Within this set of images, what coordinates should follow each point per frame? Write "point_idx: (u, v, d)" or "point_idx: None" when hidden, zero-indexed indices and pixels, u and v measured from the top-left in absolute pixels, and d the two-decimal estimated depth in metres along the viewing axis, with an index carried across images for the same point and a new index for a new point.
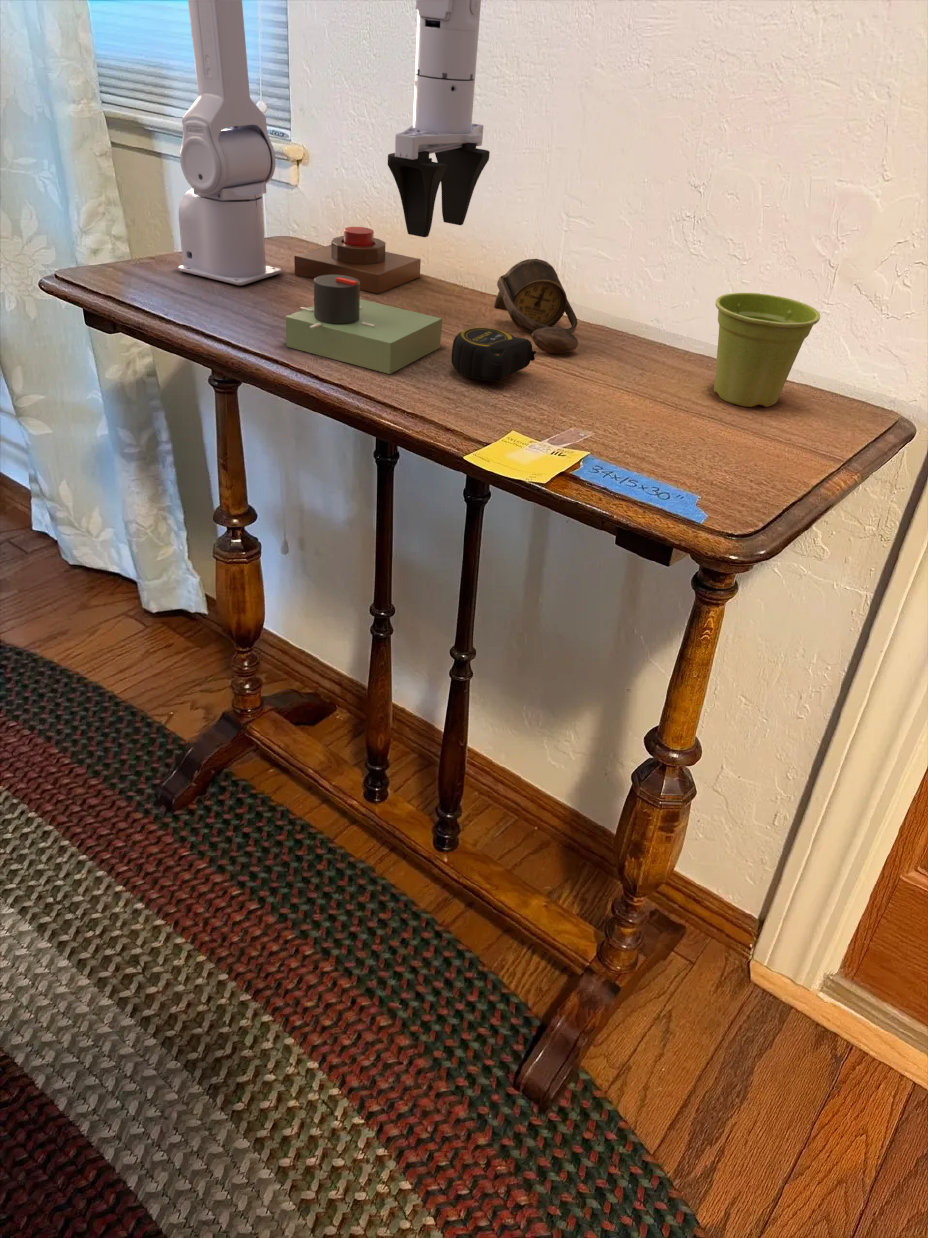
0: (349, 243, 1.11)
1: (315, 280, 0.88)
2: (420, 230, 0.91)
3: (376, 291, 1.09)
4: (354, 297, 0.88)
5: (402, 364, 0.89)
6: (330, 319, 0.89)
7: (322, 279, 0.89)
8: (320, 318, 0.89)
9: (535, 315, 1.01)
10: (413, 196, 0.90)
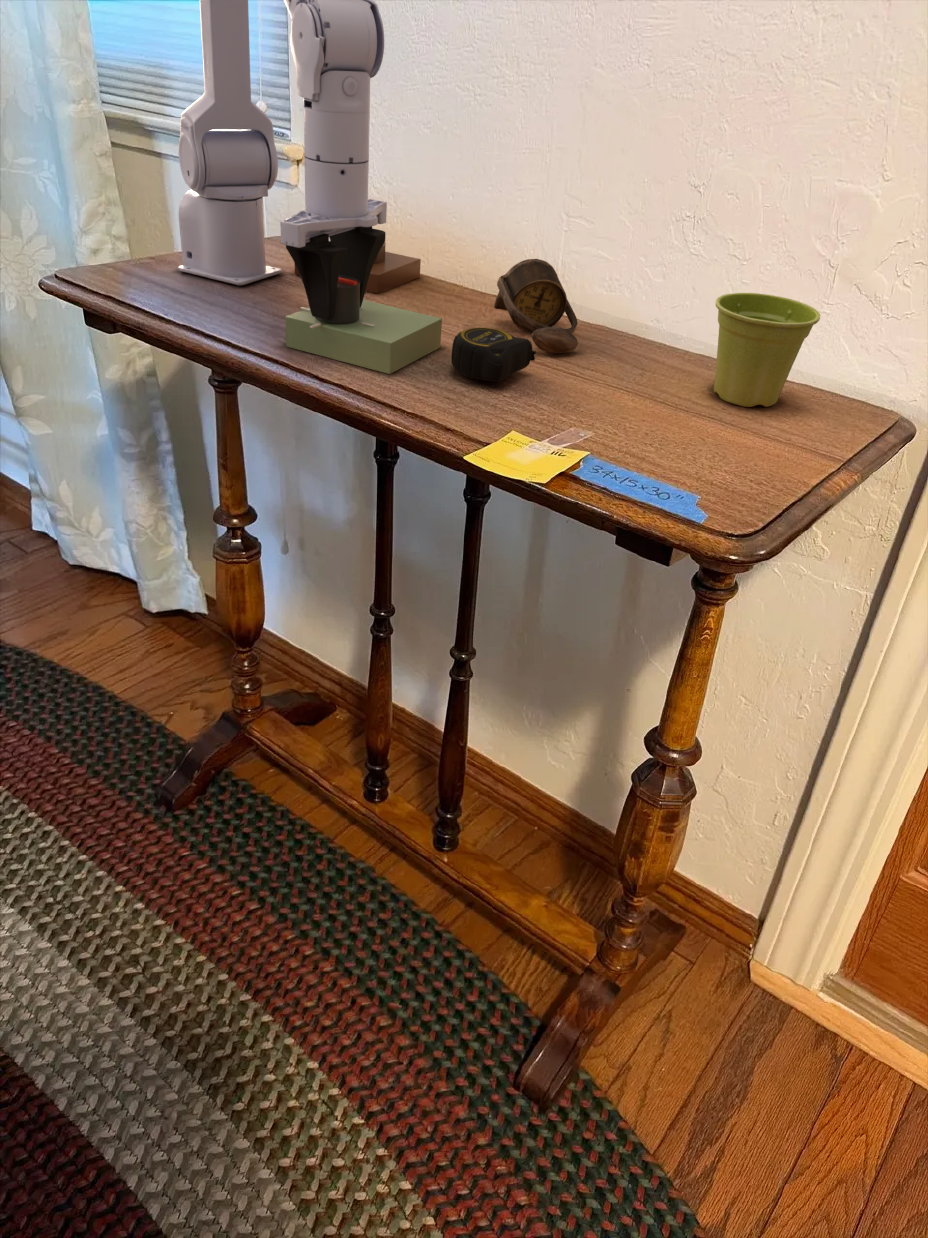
0: None
1: None
2: (324, 313, 0.88)
3: (376, 291, 1.09)
4: (354, 297, 0.88)
5: (402, 364, 0.89)
6: None
7: None
8: (320, 318, 0.89)
9: (535, 315, 1.01)
10: (315, 279, 0.86)
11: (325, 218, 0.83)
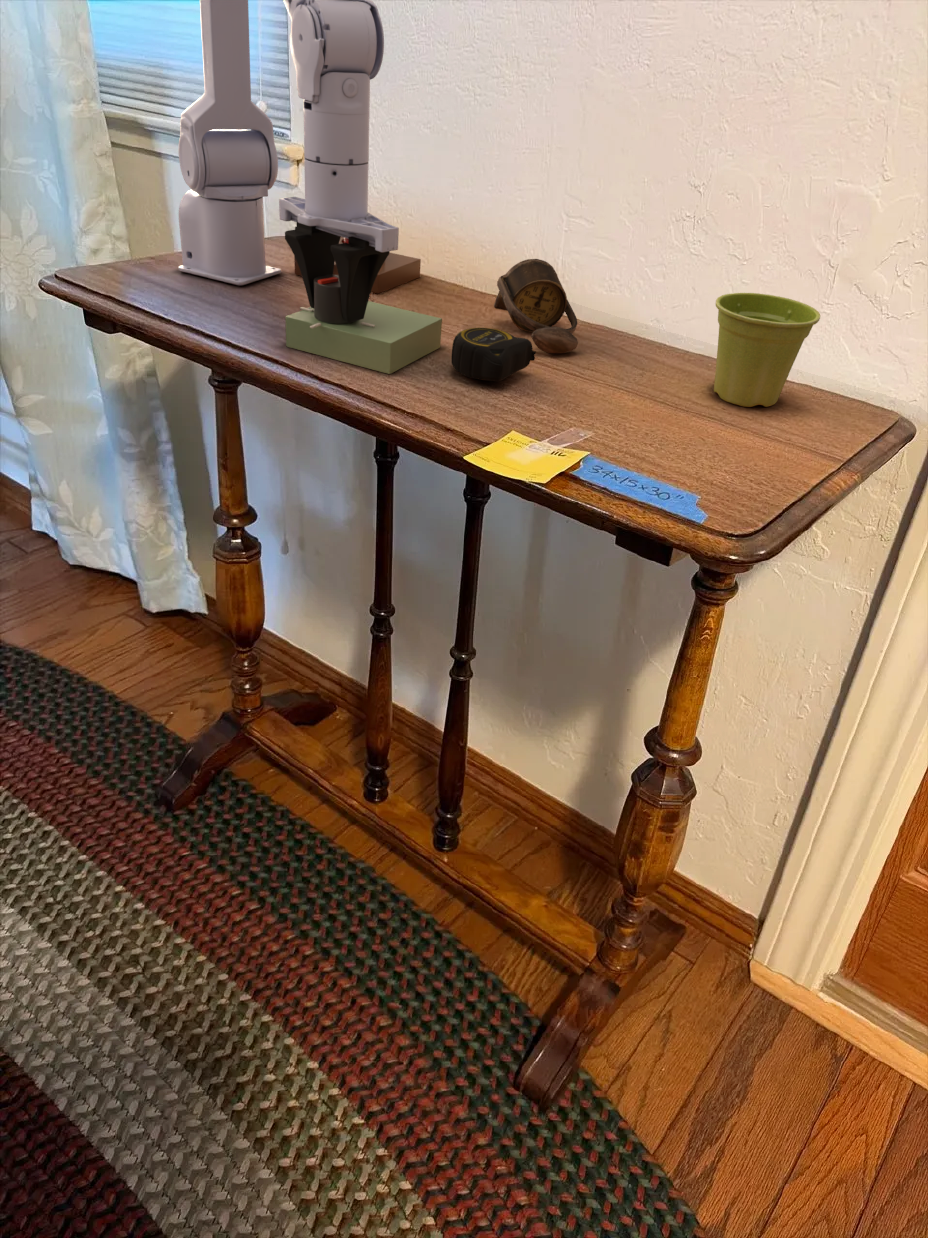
0: None
1: None
2: None
3: (376, 291, 1.09)
4: (317, 294, 0.88)
5: (402, 364, 0.89)
6: None
7: None
8: None
9: (535, 315, 1.01)
10: None
11: None
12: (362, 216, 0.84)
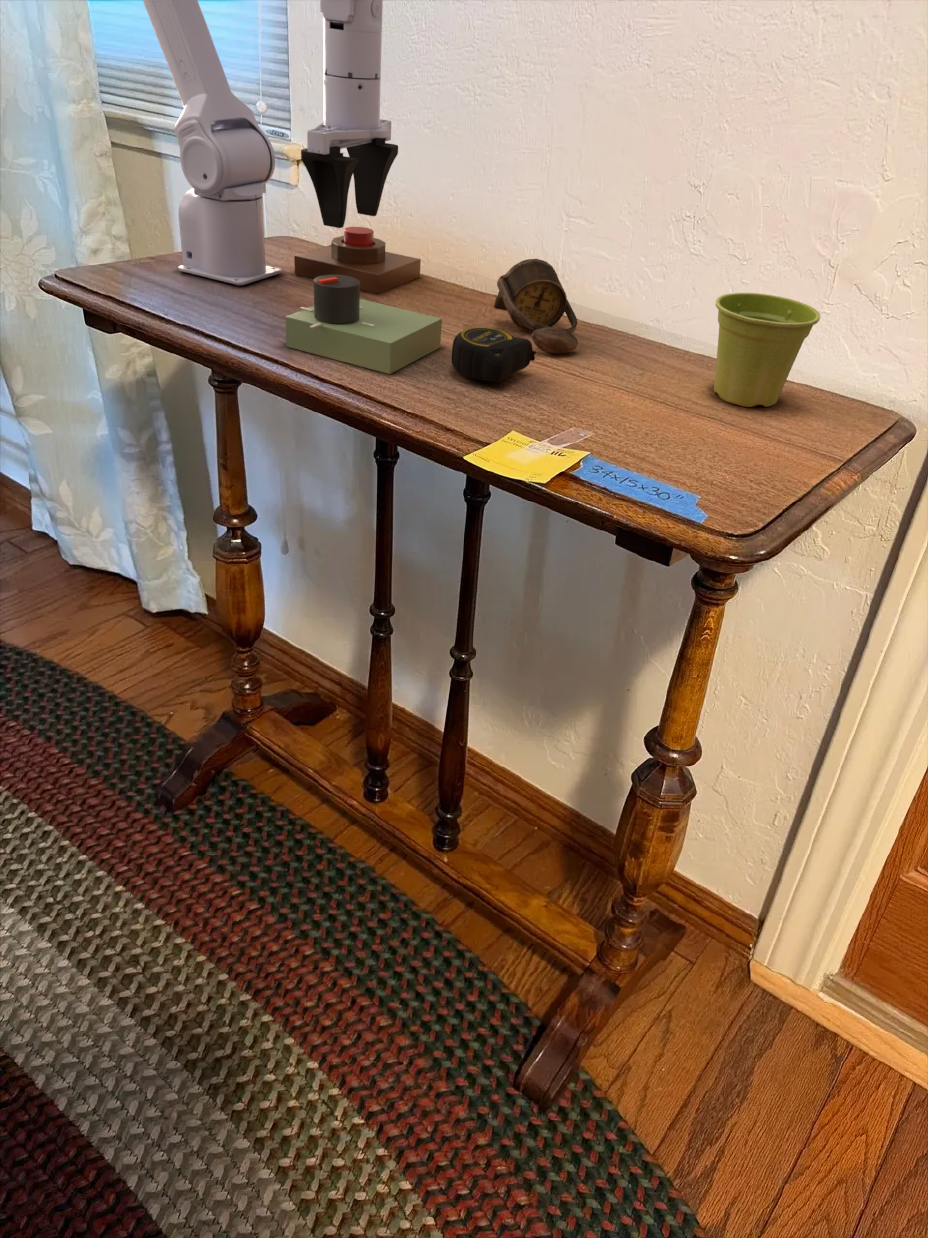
0: (349, 243, 1.11)
1: (339, 275, 0.90)
2: (335, 221, 0.97)
3: (376, 291, 1.09)
4: (317, 294, 0.88)
5: (402, 364, 0.89)
6: None
7: (342, 277, 0.90)
8: None
9: (535, 315, 1.01)
10: (327, 189, 0.95)
11: (344, 130, 0.93)
12: None
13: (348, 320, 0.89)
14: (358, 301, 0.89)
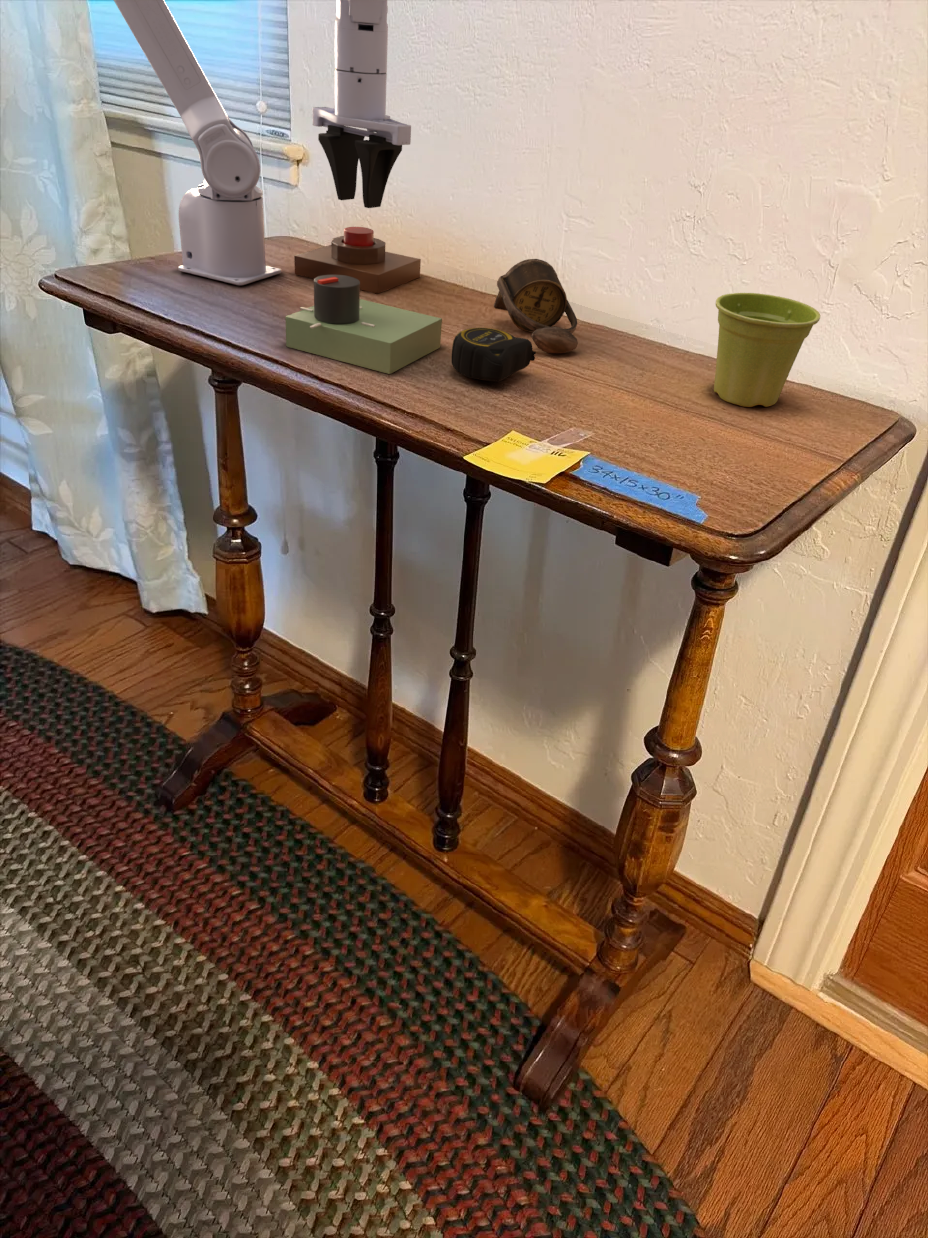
0: (349, 243, 1.11)
1: (339, 275, 0.90)
2: (378, 201, 1.09)
3: (376, 291, 1.09)
4: (317, 294, 0.88)
5: (402, 364, 0.89)
6: None
7: (342, 277, 0.90)
8: None
9: (535, 315, 1.01)
10: (373, 174, 1.06)
11: (382, 120, 1.04)
12: None
13: (348, 320, 0.89)
14: (358, 301, 0.89)
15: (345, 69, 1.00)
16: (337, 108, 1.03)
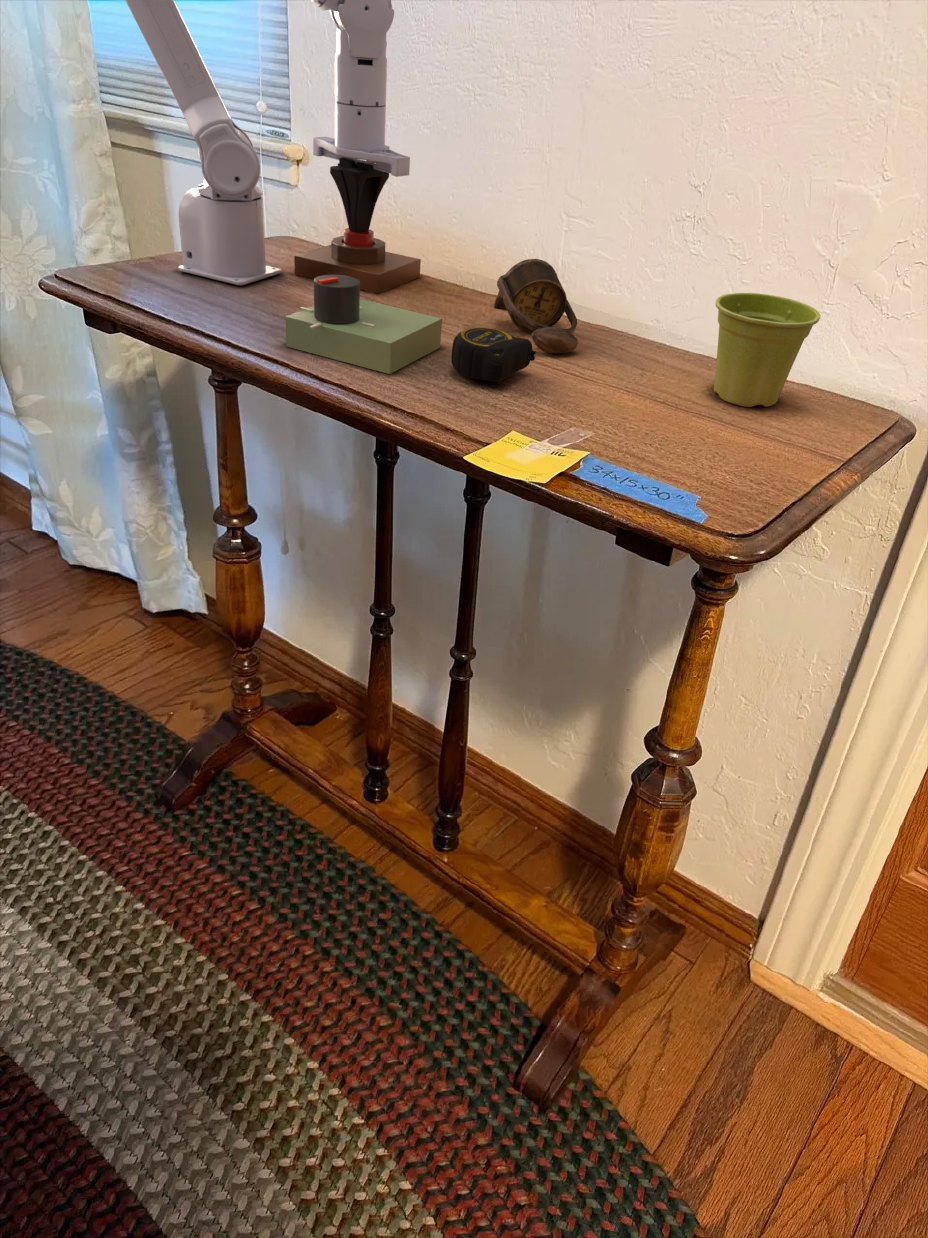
0: (349, 244, 1.11)
1: (339, 275, 0.90)
2: (366, 226, 1.12)
3: (376, 291, 1.09)
4: (317, 294, 0.88)
5: (402, 364, 0.89)
6: None
7: (342, 277, 0.90)
8: None
9: (535, 315, 1.01)
10: (361, 200, 1.09)
11: (382, 151, 1.06)
12: None
13: (348, 320, 0.89)
14: (358, 301, 0.89)
15: (345, 102, 1.02)
16: (337, 140, 1.05)
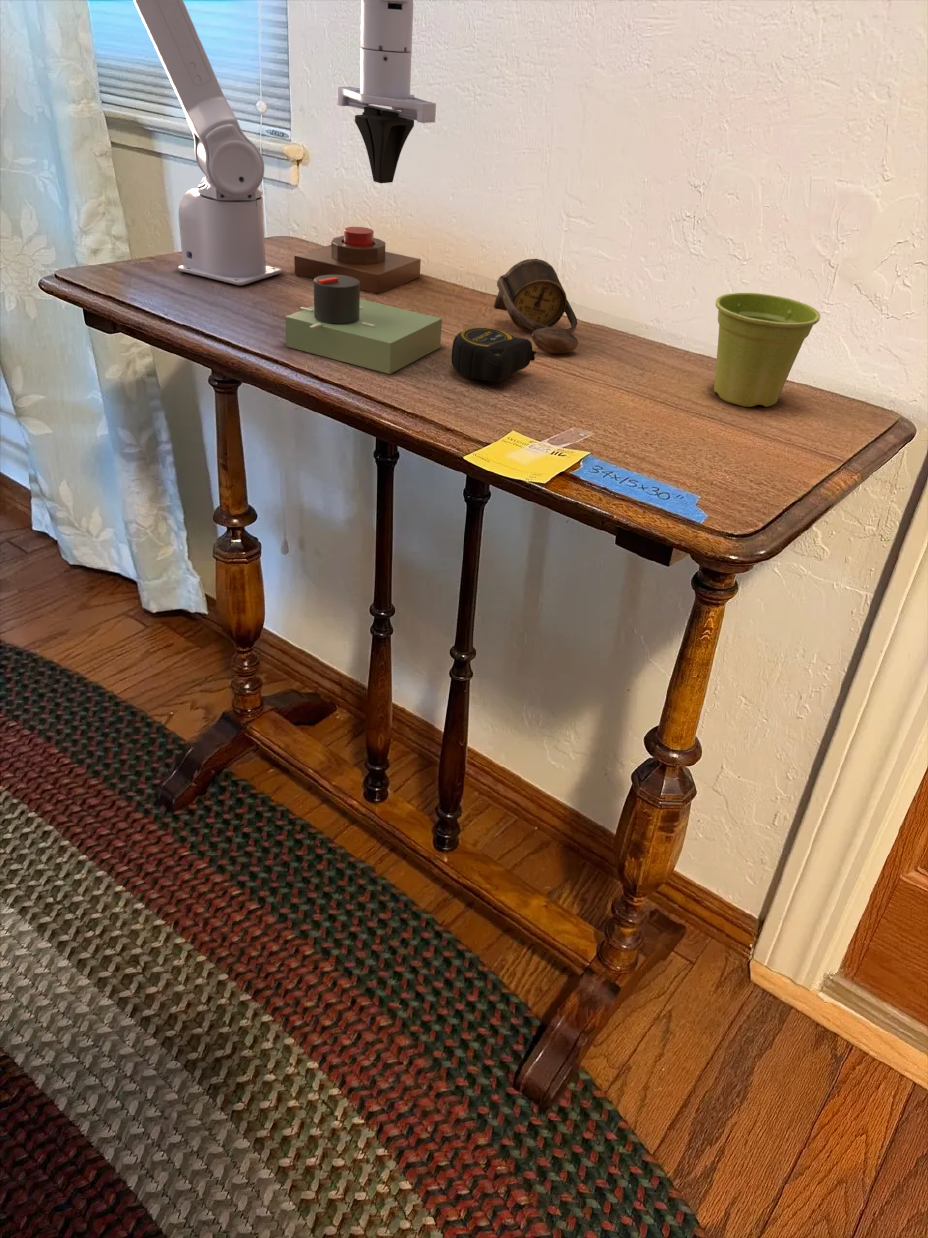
0: (349, 243, 1.11)
1: (339, 275, 0.90)
2: (390, 177, 1.11)
3: (376, 291, 1.09)
4: (317, 294, 0.88)
5: (402, 364, 0.89)
6: None
7: (342, 277, 0.90)
8: None
9: (535, 315, 1.01)
10: (386, 150, 1.09)
11: (407, 99, 1.05)
12: None
13: (348, 320, 0.89)
14: (358, 301, 0.89)
15: (371, 47, 1.02)
16: (363, 87, 1.04)
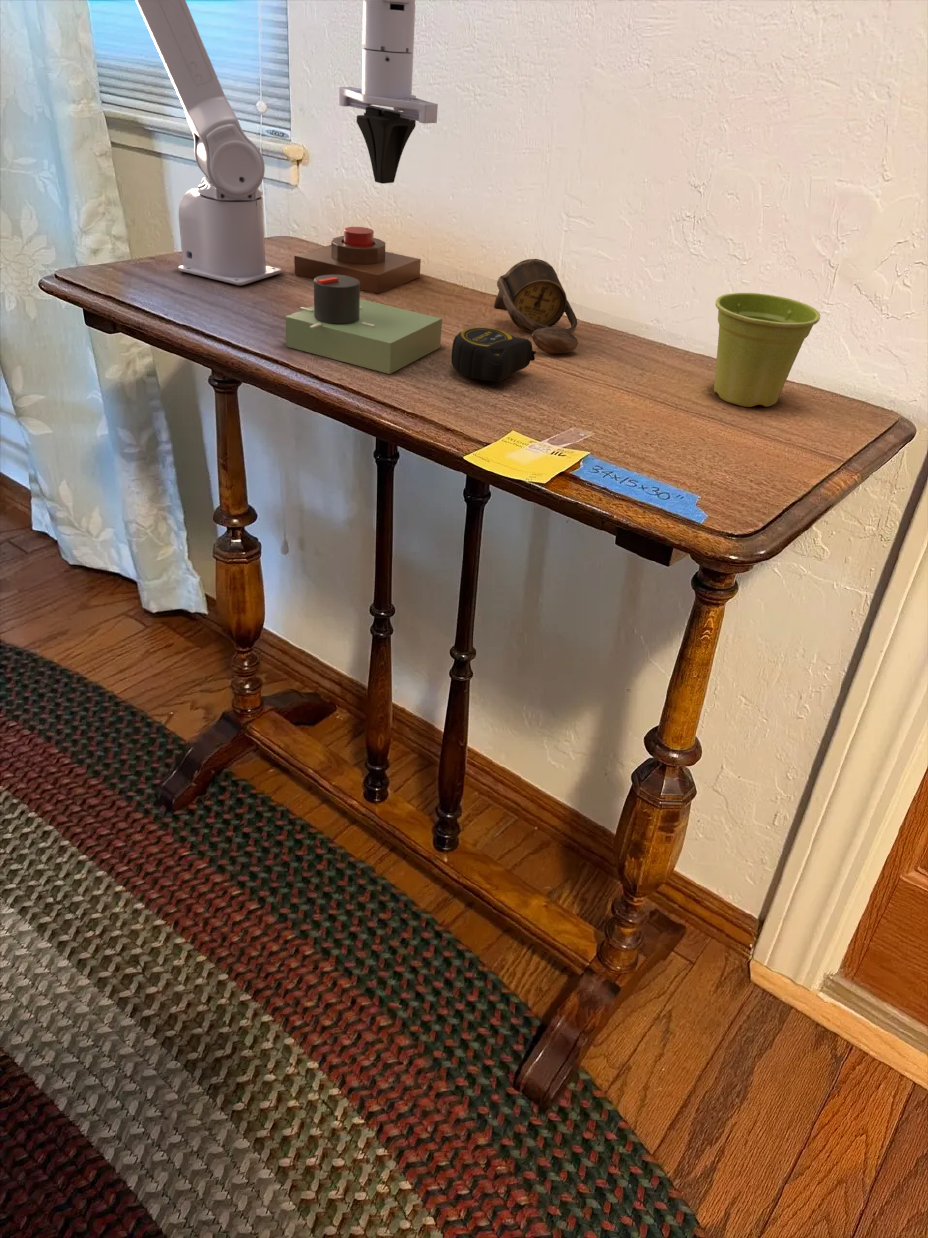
0: (349, 243, 1.11)
1: (339, 275, 0.90)
2: (391, 177, 1.11)
3: (376, 291, 1.09)
4: (317, 294, 0.88)
5: (402, 364, 0.89)
6: None
7: (342, 277, 0.90)
8: None
9: (535, 315, 1.01)
10: (387, 150, 1.09)
11: (409, 99, 1.05)
12: None
13: (348, 320, 0.89)
14: (358, 301, 0.89)
15: (373, 48, 1.02)
16: (365, 87, 1.05)
